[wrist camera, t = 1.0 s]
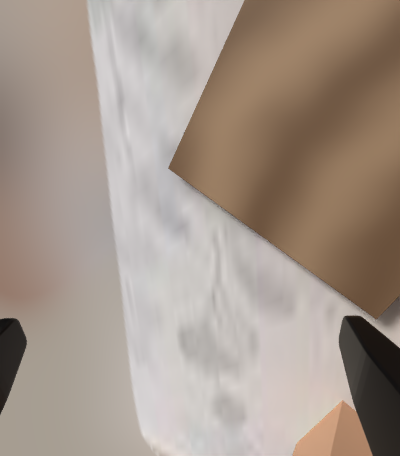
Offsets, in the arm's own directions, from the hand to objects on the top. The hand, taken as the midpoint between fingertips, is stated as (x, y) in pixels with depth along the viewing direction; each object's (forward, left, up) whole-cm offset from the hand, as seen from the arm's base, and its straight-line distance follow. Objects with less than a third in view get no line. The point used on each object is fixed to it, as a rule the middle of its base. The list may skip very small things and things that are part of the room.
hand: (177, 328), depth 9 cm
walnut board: (+1, -7, -13) cm, 14 cm away
